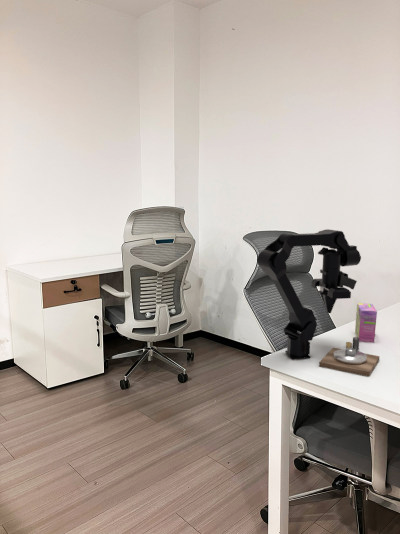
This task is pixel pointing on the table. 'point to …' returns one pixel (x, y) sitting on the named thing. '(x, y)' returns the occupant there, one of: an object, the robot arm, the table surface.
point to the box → (365, 322)
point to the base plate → (358, 369)
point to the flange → (351, 354)
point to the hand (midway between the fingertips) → (328, 312)
